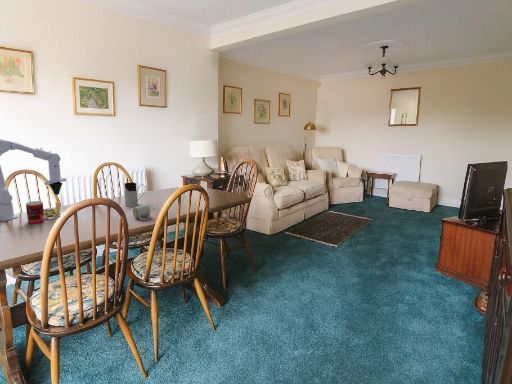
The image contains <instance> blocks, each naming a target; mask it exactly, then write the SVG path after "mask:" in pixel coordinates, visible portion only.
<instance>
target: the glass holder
mask: <svg viewBox="0 0 512 384" xmlns="http://www.w3.org/2000/svg"><path fill="white" fill-rule="evenodd" d="M141 186H143V187H144V188H146V186H145V185H144V184H142V183H141V184H139V185H138V187H137V182H133V181H132V182H125V183H124V186H123V187H124V207H127V208H128V207H137V206H139V204H138V203H139V199H141V198H142V197H143V196H144V194H145V192H146V189H143V190H144V191H143V193H142V195H141V196H139V197H138V192H139V191H140V189H137V188H140V187H141Z"/></svg>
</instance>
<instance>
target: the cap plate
mask: <svg viewBox="0 0 512 384" xmlns="http://www.w3.org/2000/svg"><path fill="white" fill-rule="evenodd" d="M45 210H46V212H51V211H53V207H52V208H51V207H49V208H48V207H47V208H45ZM63 212H64V211H61V210H60V211H59V213H58V214H56V215H55V214H53V215H50V216H48V214H47V215H46V216H44V221H47V220H48V221H52V220H54V219H57V218H60V217H59V216H60V215H61V214H62V213H63ZM52 213H53V212H52Z"/></svg>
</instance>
